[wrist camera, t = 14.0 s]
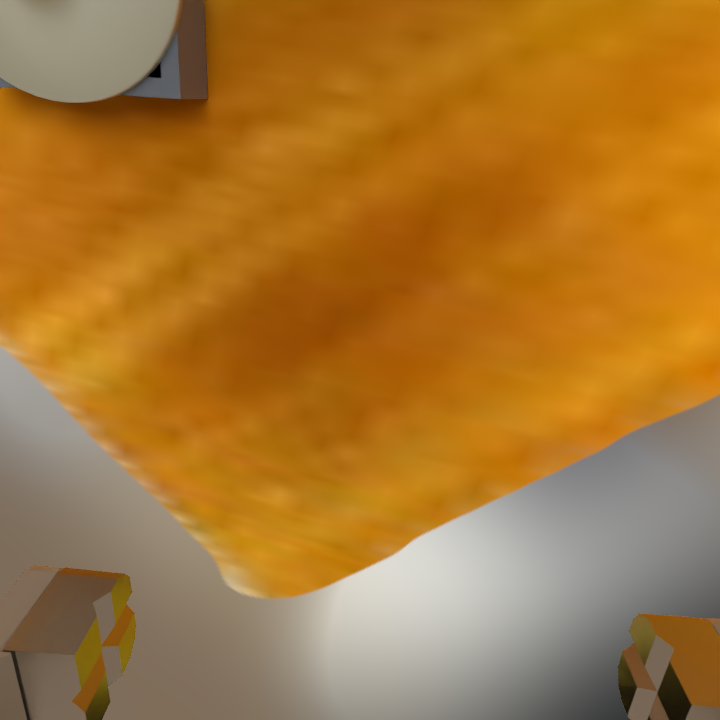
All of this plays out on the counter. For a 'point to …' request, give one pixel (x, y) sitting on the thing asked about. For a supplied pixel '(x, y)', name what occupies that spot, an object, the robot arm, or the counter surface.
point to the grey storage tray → (177, 61)
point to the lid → (84, 45)
